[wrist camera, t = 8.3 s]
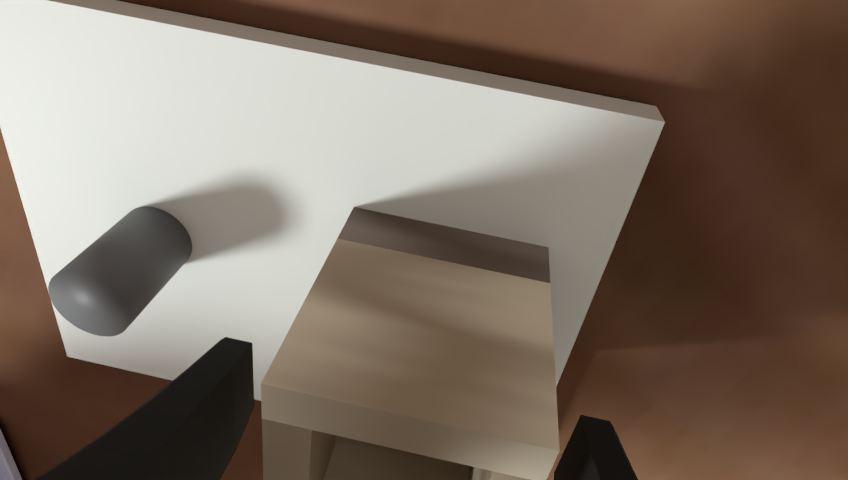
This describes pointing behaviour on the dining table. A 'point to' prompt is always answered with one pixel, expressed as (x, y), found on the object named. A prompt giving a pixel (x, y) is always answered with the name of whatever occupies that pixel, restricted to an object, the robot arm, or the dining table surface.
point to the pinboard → (278, 171)
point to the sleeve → (416, 360)
